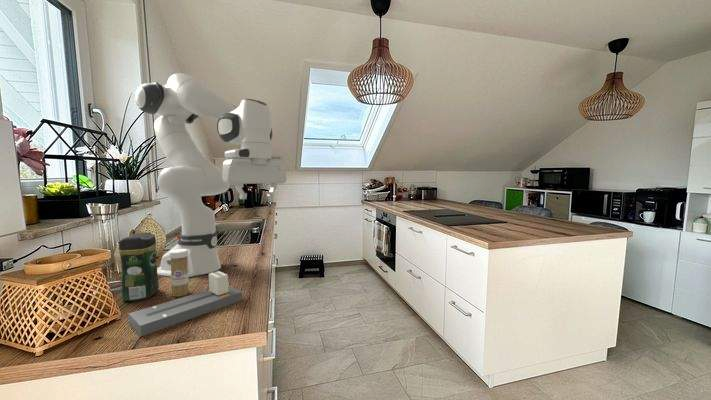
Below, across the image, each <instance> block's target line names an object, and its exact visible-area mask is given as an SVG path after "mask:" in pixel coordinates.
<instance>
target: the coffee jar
mask: <svg viewBox="0 0 711 400" xmlns="http://www.w3.org/2000/svg"><path fill="white" fill-rule="evenodd" d="M118 253H119V257H120V266H121V267H120V270H121V273H120V274H121V299H122V300H123V301H126V302H139V301H141V300H145V299H149V298H151V297H153V295H155V294H156V292H157V291H159V287H160V286H159V275H158V274H157V268H158V262H157V239H156V235H155V234H153V233H152V232H136V233H134V234H132V235H129V236H126V237H124V238H122V239H121V240H119V241H118Z"/></svg>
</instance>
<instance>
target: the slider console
mask: <svg viewBox="0 0 711 400" xmlns="http://www.w3.org/2000/svg"><path fill="white" fill-rule="evenodd" d="M242 301H243V291H241V290H239V289H238V288H235V287H232V286H231V285H229V284H228V292H227V293H224V294H221V295H216V294H214V293H212V292H210V291H209V289H207V290H203V291H200V292H196V293H193V294H190V295H185V296H181V297H180V298H179V297H178V298H175V299H173V300H170V301H167V302H162V303H158V304H155V305H152V306H149V307H146V308H143V309H139V310H136V311H133V312H130V313H128V324H129V325H130V326H131V327H132V329H133V330H134V331H135V332H136V333H137V334H138V335H139V336H140V337H144V336H147V335H149V334H152V333H156V332H157V331H158V332H159V331H161V330H163V329H166V328H170V327H172V326H175V325H177V324H178V325H179V324H181V323H183V322H186V321H188V320H191V319H194V318H197V317H200V316H203V315H205V314H208V313H210V312H213V311H216V310H219V309H222V308H225V307H227V306H231V305H233V304H236V303H239V302H242Z"/></svg>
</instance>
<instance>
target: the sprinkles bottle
mask: <svg viewBox="0 0 711 400" xmlns="http://www.w3.org/2000/svg"><path fill="white" fill-rule="evenodd" d="M187 257H188V250H187V249H176V250H172V251H170V259H171V276H170V280H171V283H170V284H171V296H172V297H178V298H179V297H185V296H187V295H188V294H189V292H190V290H189V282H190V281H189V277H188V260H187Z"/></svg>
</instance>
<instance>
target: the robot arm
mask: <svg viewBox="0 0 711 400" xmlns="http://www.w3.org/2000/svg"><path fill="white" fill-rule="evenodd" d="M134 96H135V97H134V98H135V102H136V106H137V107H138V109H139V110H141V112H144V113H145V114H146V113H147V114H150V115H156V116H159V117H158V118H157V119H156V120H155V121H154V123H153V129H154V130H153V131H154V133H155V137H156V140H157V141H158V144H159V146H160V149H161V150H162V153H163V154H164V156H165V159H166V160H167V162H168V163H170V165H171V167H165V168H163V169H162V170H161V171H160V172H159V174H158V176H157V186H158V188H159V190H160V192H161V193H162V194H163V195H165V196H166V197H168V198H169V199H170V200H172V202H173V203H174V204H175V206H176V207H177V209H178V212H179V216H180V222H181V234H179V235H177V236H175V237H174V238H175V239H174V240H175V241H177V240H178V241H177V244H176V245H175V246H173V247H172V248H171V249H169V250H168V251H167V252H165V253H164V254H163V256H162V257H161V261H160V266H159V267H157V274H158V276H165V277H171V259H170V251H172V250H176V249H187V250H188V257H187V260H188V278H192V277H195V276H201V275H206V274H209V273H213V272H217V271H220V270H221V268H222V265H221V262H220V258H219V254H218V248H217V245H218V233H217V231H216V214H215V211H214V210H213V209H212V208H210V207H209V206H206V205H205V203H203V201H202V197H207V196H216V195H221V194H223V193H227V192H228V191H229V189H230V187H231V185H234V186H235V187H234V188H235V190H236V191H237V193H238V194H239V195H238V197H239V200H247V199H248V198H247V197H248V193H247V192H245V191H244V190H243V188H244V184H245V185H247V184H254V185H255V184H269V187H270V188H269V191H266V197H267V198H268V199H269V198H270V199H271V198H274V197H275V192H276V190H277V188H278V186H277V185H278V184H285V183H286V182H287V171H286V162H285V161H286V160H285V159H284V157H282V156H281V155H280V154H279V155H276V154H272V142H271V141H272V139H273V128H272V122H271V112H270V111H271V110H270V108H269V106H268V104H267V103H265V102H263V101H261V100H259V99H257V100H256V99H251V98H245V99H242V100H241V102H240V103H239V105H238V106H235V105H234V104H232V103H231V102H230V101H228V100H227V99H225V98H223V97H222V96H221V95H219V94H218V93H217V92H216V91H214V90H212V89H211V88H210V87H209V86H208V85H206V84H205V83H204V82H202V81H201V80H199V79H197V78H195V77H193V76H192V75H189V74H186V73H183V72H176V73H174V74H172V75H170V76H169V78H168V80H167V83H166V84H160V83H159V82H158V81H156V82H150V83H149V82H148V83H143V84H140V85H138V86H137V88H136V90H135V95H134ZM198 117H202V118H207V119H212V120H217V122H216V123H217V124H216V131H217V134H218V136H219V138H220V139H221V140H222V141H223V142H225V143H228V144H232V145H239V146H240V147H236V148H233V149H228V150H226V151H224V157H225V160H224V161H223V163H222V168H220V167H218V166H217V165H216V164H214V163H213V162H211V161H210V160H209V159H208V158H207V157H206V156H205V155H204V154H203V153H202V152H201V151H200V149H199V148H198V147H197V145H196V144H195V142H194V139H193V138H192V136H191V134H190V132H189V131H188V129H187V127H186V124H188V125H190V124H192V123H193V122H194V120H196V119H198Z"/></svg>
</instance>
